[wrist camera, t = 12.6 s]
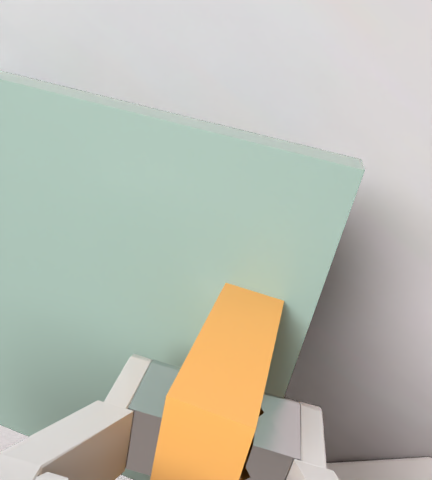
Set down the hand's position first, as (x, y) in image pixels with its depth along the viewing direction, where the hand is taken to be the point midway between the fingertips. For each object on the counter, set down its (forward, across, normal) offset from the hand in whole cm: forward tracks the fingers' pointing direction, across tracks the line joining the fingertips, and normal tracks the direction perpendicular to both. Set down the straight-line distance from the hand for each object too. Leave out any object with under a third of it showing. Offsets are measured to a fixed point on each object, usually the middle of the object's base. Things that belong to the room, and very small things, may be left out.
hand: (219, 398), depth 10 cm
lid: (+3, +6, 0) cm, 7 cm away
